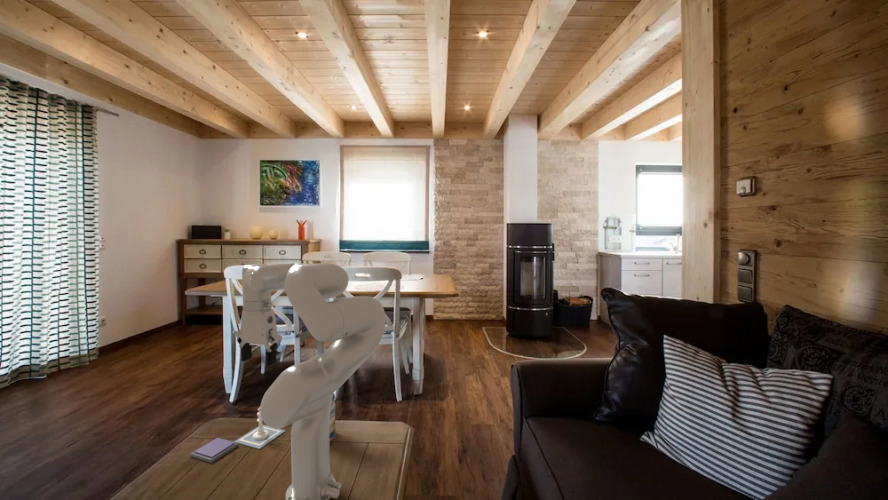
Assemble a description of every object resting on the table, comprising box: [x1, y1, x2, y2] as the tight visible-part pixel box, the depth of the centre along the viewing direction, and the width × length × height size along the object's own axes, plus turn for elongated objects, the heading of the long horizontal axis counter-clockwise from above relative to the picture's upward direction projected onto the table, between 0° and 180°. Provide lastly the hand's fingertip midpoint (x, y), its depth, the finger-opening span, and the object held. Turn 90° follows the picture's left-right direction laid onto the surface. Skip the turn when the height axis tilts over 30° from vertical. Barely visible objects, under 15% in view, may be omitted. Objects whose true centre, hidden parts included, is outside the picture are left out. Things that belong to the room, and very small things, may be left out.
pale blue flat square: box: [233, 424, 287, 450], centre depth 119 cm, size 11×11×1 cm
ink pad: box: [189, 437, 239, 464], centre depth 111 cm, size 9×9×1 cm
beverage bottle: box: [329, 392, 336, 441], centre depth 118 cm, size 8×8×20 cm
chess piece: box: [253, 406, 269, 440], centre depth 119 cm, size 5×5×10 cm
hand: (258, 361), depth 106 cm, fingers open, 9 cm apart
